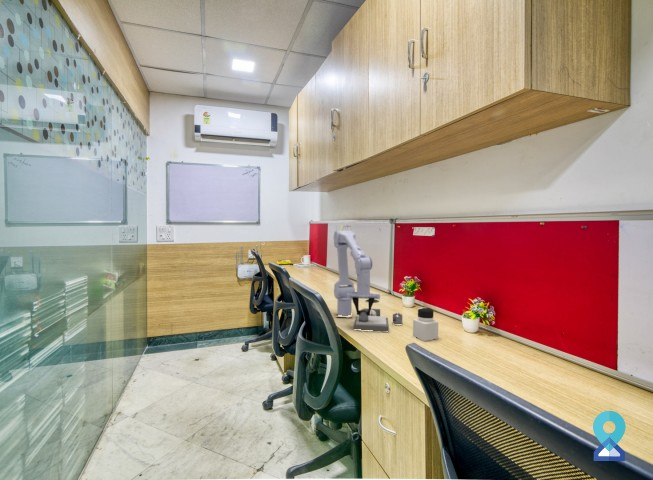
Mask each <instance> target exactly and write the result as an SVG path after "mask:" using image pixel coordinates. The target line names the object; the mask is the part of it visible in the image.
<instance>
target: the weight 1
mask: <svg viewBox="0 0 653 480" xmlns="http://www.w3.org/2000/svg"><path fill="white" fill-rule="evenodd" d="M359 322H368V311H367V310H365V309H364V308H363V309H362V308H361V309H359Z"/></svg>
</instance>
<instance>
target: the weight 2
mask: <svg viewBox="0 0 653 480" xmlns="http://www.w3.org/2000/svg"><path fill="white" fill-rule="evenodd" d="M393 323H394V324H402V325H403V314H402V313H401V314H400V313H399V312H396V313H392V324H393Z"/></svg>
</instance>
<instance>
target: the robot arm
mask: <svg viewBox="0 0 653 480" xmlns="http://www.w3.org/2000/svg"><path fill="white" fill-rule="evenodd" d="M333 243H334V244H333V245H334V247H335V248H336V249H337V250H336V251H337V263H338V265H337V266H338V278H339V279H338V281H336V282H335V283H334V286H333V287H334V288H333V295H334V297H335V299H336V300H337V314H338V315H342V316H348V315H351V313H352V310H353V309H352V308H353V307H352V303H353V305H354V307H355V310H356V311H355V312H356V316H358V315H359V310H360V308H359V303H360V302H359V299H366V300H368V308H367V309H368V315H370V310H371V309H372V308H373V304H374V302H375V300H380V299H381V294H380V293H371V270H372V269H373V259H372V258H371V256H368V255H366V253H365V252H364V250H363V248H362V247H360V246H358V243H357V242H356V233H355V231H354V230H353V229H351V230H339V229H337V230H335V231H334V232H333ZM348 248H349V249H350V255H351V257H352V259H353V261H354V268H355V274H356V289H355V286H354V282H353V281H351V280H350V277H349V263H348V252H347V251H348ZM337 314H336V315H337Z"/></svg>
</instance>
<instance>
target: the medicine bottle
mask: <svg viewBox="0 0 653 480" xmlns="http://www.w3.org/2000/svg"><path fill="white" fill-rule="evenodd" d="M412 337H414V338H416V337H417V338H416V339H418V338H419V340H420V339H421V340H420V341H424V342H429V340H430V341H434V340H433V339H435V340H439V321H438V320H435V319H434V309H432V308H430V307H420V308H419V307H418V309H417V318H414V319H412Z"/></svg>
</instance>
